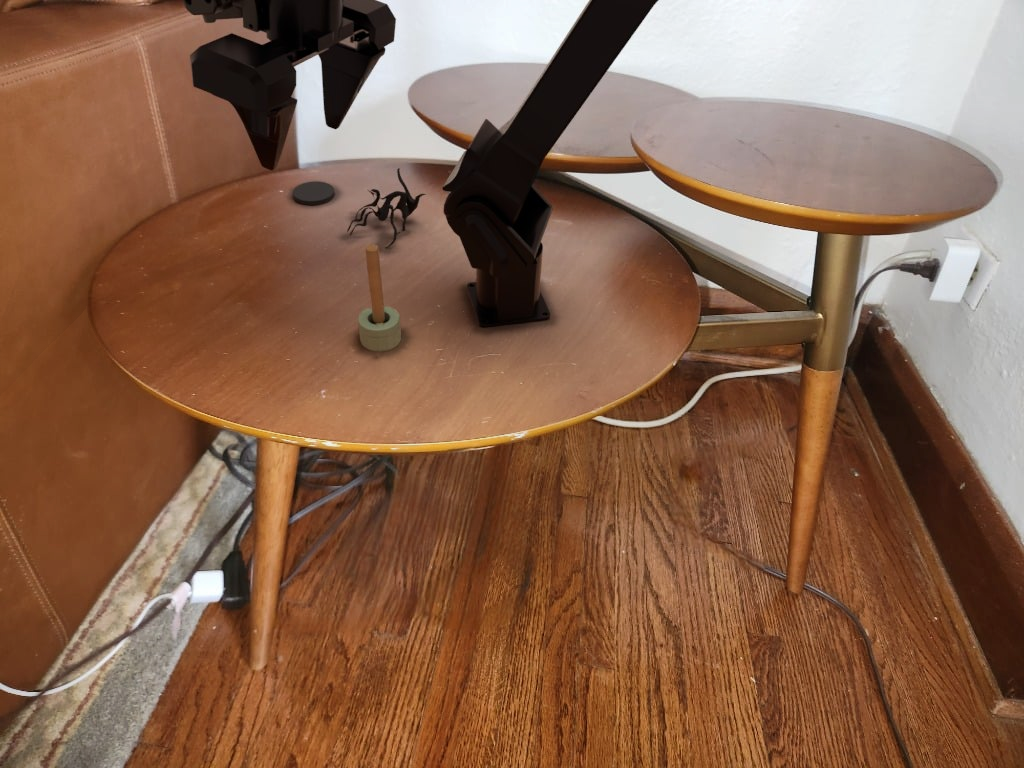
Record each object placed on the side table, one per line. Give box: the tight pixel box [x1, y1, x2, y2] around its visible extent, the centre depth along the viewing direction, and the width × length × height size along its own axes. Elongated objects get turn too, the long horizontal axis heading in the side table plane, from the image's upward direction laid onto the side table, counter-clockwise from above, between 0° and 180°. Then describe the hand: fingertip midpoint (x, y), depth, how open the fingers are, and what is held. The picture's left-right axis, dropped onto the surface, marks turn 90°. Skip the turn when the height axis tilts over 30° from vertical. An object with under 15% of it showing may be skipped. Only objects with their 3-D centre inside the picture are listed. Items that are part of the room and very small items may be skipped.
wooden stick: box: [364, 243, 385, 325], centre depth 63 cm, size 1×1×9 cm
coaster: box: [292, 180, 336, 206], centre depth 85 cm, size 4×4×1 cm
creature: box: [346, 167, 427, 250], centre depth 78 cm, size 8×5×8 cm
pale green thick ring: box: [357, 305, 402, 352], centre depth 66 cm, size 3×4×2 cm
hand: (302, 146), depth 65 cm, fingers open, 9 cm apart
